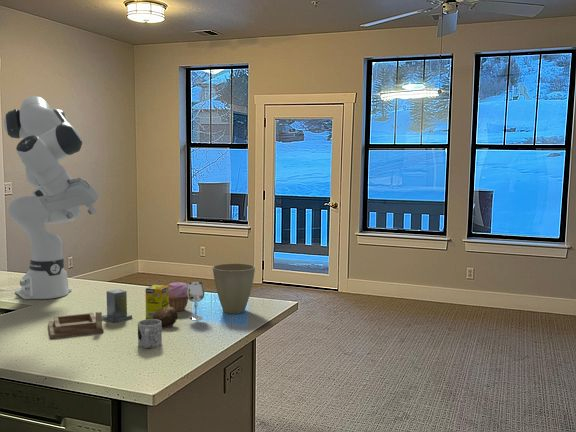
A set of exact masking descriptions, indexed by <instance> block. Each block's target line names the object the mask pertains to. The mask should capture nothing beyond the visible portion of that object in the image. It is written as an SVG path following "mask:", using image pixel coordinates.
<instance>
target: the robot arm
mask: <svg viewBox="0 0 576 432" xmlns="http://www.w3.org/2000/svg"><path fill="white" fill-rule="evenodd" d="M68 120H69V119H68V117H67V115H66V114H65V112H64V111H63V110H62V109H59V108H58V109H57V108H51V106H50V104H49V103H48V102H47V101H46V100H45V99H44V98H43V97H41V96H38V95H37V96H36V95H32V96H27V97H26V98H25V99H24V100H23V102H22V103H21V105H20V109H18V108H17V109H16V108H14V109H13V110H12V109H11V110H10V111H8V112H7V113H5V117H4V119H3V127H4V130H5V132H6V134H7V135H8V137H10V138H12V139H21V140H19V142H18V143H17V144H16V148H15V149H16V152H17V154H18V156H19V158H20V160H21V162H22V163H23V165H24V167H25V177H26V180H27V182H28V183H29V184H30V185H31V186H32V187H35V189H33V191H32V195H24V196H19V197H14V198H13V199H12V200H11V201H10V203H9V206H8V215H9V218H10V220H11V221H13V223H14V224H16V225H18V226H19V227H20V228H22V229H23V230H24V232H25V234H26V235H27V236H28V239H29V243H30V251H31V254H30V255H31V260H29V269H28V271H27V272H26V273H25V274H24V275H23V276H22V277H21V280H19V285H20V288H17V289H15V290H14V292H15V294H16V295H18V296H19V297H21V299H23V300H47V299H49V300H50V299H55V298H61V297H62V298H63V297H65V296H67V295H69V293H70V292H72V288H71V287H70V286H69V277H68V272H67V270H65V260H64V258H63V241H62V238H61V237H60V236H59V235H58V234H56V233H54V232H51V231H50V230H49V231H48V230H47V228H46V225H49V224H60V223H61V224H63V223H64V224H65V223H68V222H72V221H76V220H77V219H78V217H79V216H80V213H81V210H82V209H81V208H82V206H85V207H86V208H87V207H88V210H87V213H88V214H89V215H95V214H96V208H94V204H95V203H96V201H97V200H98V199H99V193H98V192H97V190H96V189H95V188H94V187H93V185H92V184H90V183H89V181H87V180H86V179H84V178H81V177H77V178H72V177H71V175H70V174H69V172H68V170H66V168H65V167H64V166H63V165H62V164H61V163H59V162H60V161H61V160H63V159H65V158H67V157H70V156H71V155H74V154H76V153H78V152H80V151H81V148H82V145H83V141H82V136H81V134H80V133H79V131H78V130H77V128H75V126H73V125H71V123H70V122H69V121H68Z"/></svg>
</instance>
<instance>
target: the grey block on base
mask: <svg viewBox="0 0 576 432" xmlns="http://www.w3.org/2000/svg"><path fill="white" fill-rule="evenodd" d="M127 299H128V297H127V290H124V289H120V288H117V289H111V290H106V314H105V315H104V314H102V321H103V320H104V321H106V322H108V323H109V322H110V323H112V324H117V323H120V322H124V321H128V320H129V321H130V320H132V319H133V315H132V314H128V307H127V305H128V301H127Z"/></svg>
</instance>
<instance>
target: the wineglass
mask: <svg viewBox="0 0 576 432" xmlns="http://www.w3.org/2000/svg"><path fill="white" fill-rule="evenodd" d="M203 283H204V282H201V281H191V282H189V283H187V285H188V289H187V297H188V301H191V302H193V303H194V310H195V311H194V315H193V316H189V320H190V321H199V320H202V319H203V316H200V315H198V314H197V309H198V303H199V302H201V301H203V299H204V298H205V286H204V284H203Z"/></svg>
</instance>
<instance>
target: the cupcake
mask: <svg viewBox="0 0 576 432" xmlns="http://www.w3.org/2000/svg"><path fill="white" fill-rule="evenodd" d="M167 286H169V307H173V308H174V309H176V311H177V312H180V311H184V310H185V309H186V307H187V306H188V302H189V299H188V297H187V289H188V283H185V282H179V281H178V282H177V281H175V282H170V283H169V284H168V285H167Z"/></svg>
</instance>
